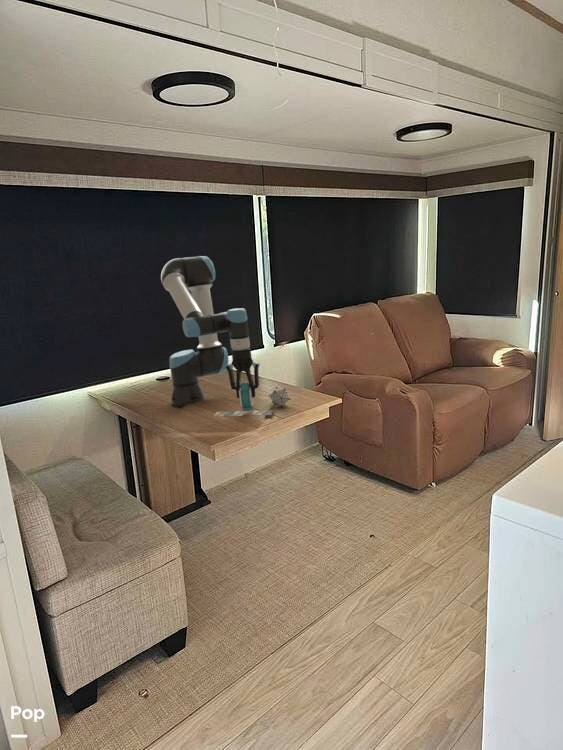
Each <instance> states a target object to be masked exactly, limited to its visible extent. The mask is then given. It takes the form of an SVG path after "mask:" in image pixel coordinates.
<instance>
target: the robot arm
mask: <svg viewBox="0 0 563 750" xmlns="http://www.w3.org/2000/svg"><path fill="white" fill-rule="evenodd" d="M160 280H161V284H162V286H163V288H164V290H165V291H167V292H169V294H170V296H171V297H172V300H173V301H174V303H175V304H176V307H177V308H178V311H179V313H180V314H181V316H182V318H183V320H182V330H183V334H184V335H185V337H187V338H198V342H199V343H198V345H197V347H196V350H197V351H195V350H194V349H185V350H181V351H177V352H175V353H173V354H172V355H170V356H169V369H170V375H171V376H170V377H171V380H172V381H171V382H172V392H171V399H170V402H171V405H172V404H173V405H175V406H174V407H178V406H184V407H185V406H186V405H188V404H194V403H197V402H198V403H199V402H200V401H201V402H202V401H205V399H206V398H205V395H204V392H203V390H202V388H201V385H200V384H199V378H203V377H207V376H212V375H218V374H221V373H225V372H226V371H227V372H228V377H229V382H230V387H231V390H235V391H236V397H237V399H239V403H240V407H243V403H242V394H241V389H240V385H241V383H242V381H241V380H242V372H244V373H245V375H246V377H247V382H248V383H249V385H250V390H249V395H250V403H251V406H254V405H255V399H254V398H255V397H256V389H258V388H259V387H260V380H259V379H260V377H259V376H260V375H259V367H260V362H255V361H254V360H253V359H252V351H251V348H250V347H251V343H250V342H251V341H250V333H249V331H250V330H249V324H248V323H249V322H248V319H249V318H248V314H247V310H246V309H245V308H243V307H241V308H240V307H239V308H236V307H235V308H232V309H228V310H227V311H222V312H219V313H214V307H213V299H212V295H211V288H212V287H213V282H214V281H215V280H216V270H215V267H214V263H213V261H212V260H211V259H210V257H208V256H206V255H203V256H202V255H197V256H190V257H189V256H188V257H187V256H186V257H177V258H173V259H171V260H169V261H167V263H165V265H164V266H163V268H162V270H161V274H160ZM226 332H228V335H229V341H230V349H231V358H232V360H231V363H230V364H229V361H230V360H229V359H230V358H229V354H228V350H227V347H223V344H222V342H220V341H219V339H218V334H219V333H220V334H222V333H226ZM252 367H253V369H254V370H253V371H254V372H253V375H254V377H253V376H252V373H251V368H252ZM234 369H235V370H236V377H235V375H234ZM235 378H236V379H235ZM253 378H254V380H253ZM235 380H236V381H235ZM173 405H172V406H173Z"/></svg>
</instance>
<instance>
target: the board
mask: <svg viewBox="0 0 563 750" xmlns="http://www.w3.org/2000/svg"><path fill="white" fill-rule="evenodd" d="M274 413H275V411H274V409H268V410H265V409H264V410H250V411H243V410H238V411H235V410H234V411H216V413H215V414H214V415H213V417H217V418H218V417H240V416H243V417H244V416H249V417H250V416H265V417H264V419H272V417H273V416H274ZM272 415H273V416H272Z"/></svg>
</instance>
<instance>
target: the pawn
mask: <svg viewBox="0 0 563 750" xmlns="http://www.w3.org/2000/svg"><path fill="white" fill-rule="evenodd" d="M240 389H241V394H242V403H243V406H241V409H242V411H254V410H253V409H254V407H253V406H254V405H253V406H251V403H250V395H249V390H250V389H251V388H250V385H249V381H244V382H243V381H242V382H241V383H240Z"/></svg>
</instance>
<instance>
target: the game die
mask: <svg viewBox="0 0 563 750" xmlns="http://www.w3.org/2000/svg"><path fill="white" fill-rule="evenodd" d="M267 396H268V397H270V399H271V404H273V405H272V406H273V407H275V406H278V407H281V409H283V408H284V405H285V404H286V403H287V402H288V401H291V398H289V396H288V392H287V391H286V388H283V389H282V388H278V387H277V386H276V387H275V389H274V390H273V392H272V393H271V394H268V395H267Z"/></svg>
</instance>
